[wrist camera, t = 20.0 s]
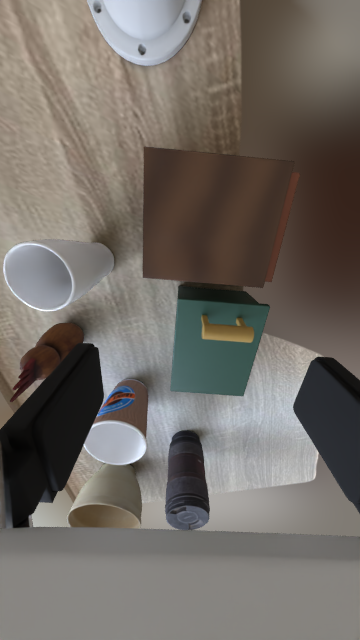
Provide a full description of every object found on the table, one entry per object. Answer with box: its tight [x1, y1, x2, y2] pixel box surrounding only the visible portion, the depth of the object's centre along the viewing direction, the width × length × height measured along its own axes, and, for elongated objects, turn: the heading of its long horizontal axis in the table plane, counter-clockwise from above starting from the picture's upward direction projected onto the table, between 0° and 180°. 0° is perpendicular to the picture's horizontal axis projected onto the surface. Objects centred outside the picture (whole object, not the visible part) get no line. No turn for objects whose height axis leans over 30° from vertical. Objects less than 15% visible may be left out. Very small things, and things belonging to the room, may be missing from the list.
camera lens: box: [165, 431, 210, 530], centre depth 42 cm, size 8×8×15 cm
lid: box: [170, 297, 270, 396], centre depth 27 cm, size 15×12×5 cm
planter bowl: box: [67, 463, 142, 529], centre depth 49 cm, size 16×16×11 cm
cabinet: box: [143, 147, 294, 288], centre depth 26 cm, size 14×12×11 cm
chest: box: [171, 286, 259, 377], centre depth 34 cm, size 15×12×8 cm
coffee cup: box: [84, 379, 148, 465], centre depth 38 cm, size 10×10×12 cm
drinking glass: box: [3, 239, 114, 311], centre depth 26 cm, size 7×7×15 cm
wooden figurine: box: [10, 323, 84, 402], centre depth 31 cm, size 7×6×15 cm
